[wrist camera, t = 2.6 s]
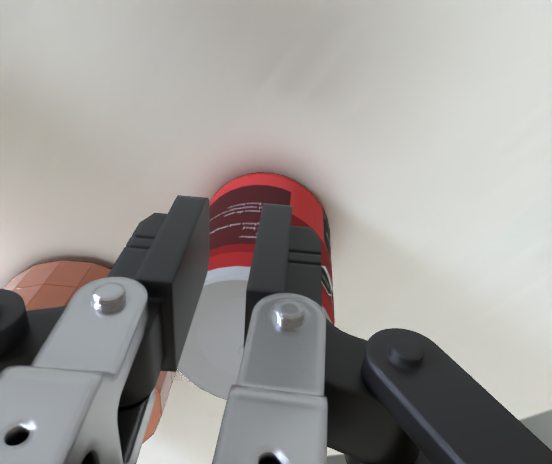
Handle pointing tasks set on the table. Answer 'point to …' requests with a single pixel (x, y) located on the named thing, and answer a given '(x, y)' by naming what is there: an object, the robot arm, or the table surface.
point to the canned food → (242, 274)
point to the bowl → (58, 292)
